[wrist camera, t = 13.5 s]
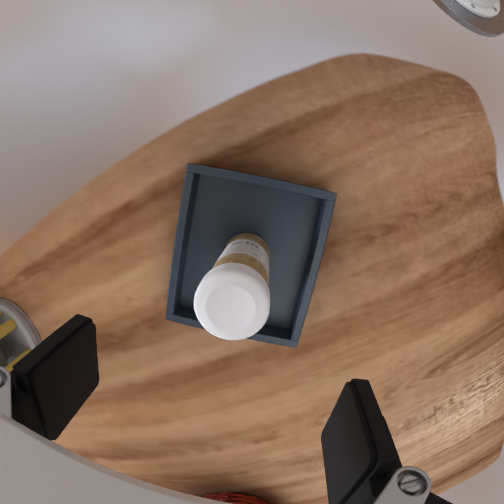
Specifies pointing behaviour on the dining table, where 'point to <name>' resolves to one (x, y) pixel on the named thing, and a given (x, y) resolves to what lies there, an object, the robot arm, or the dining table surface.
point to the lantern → (15, 334)
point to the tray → (255, 222)
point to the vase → (235, 498)
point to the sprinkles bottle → (236, 290)
